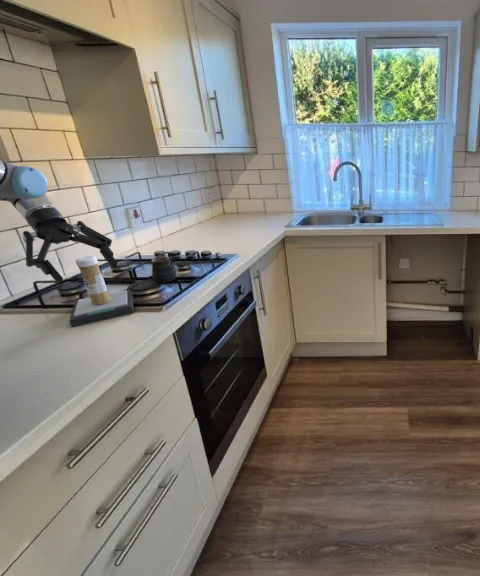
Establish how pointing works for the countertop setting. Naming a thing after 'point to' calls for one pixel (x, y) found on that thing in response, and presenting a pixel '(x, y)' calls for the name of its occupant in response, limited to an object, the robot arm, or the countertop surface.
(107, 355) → the countertop surface
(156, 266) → the mate gourd
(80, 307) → the scale
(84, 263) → the sprinkles bottle
